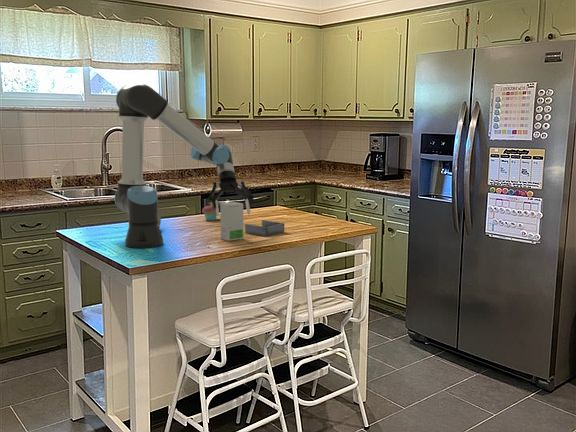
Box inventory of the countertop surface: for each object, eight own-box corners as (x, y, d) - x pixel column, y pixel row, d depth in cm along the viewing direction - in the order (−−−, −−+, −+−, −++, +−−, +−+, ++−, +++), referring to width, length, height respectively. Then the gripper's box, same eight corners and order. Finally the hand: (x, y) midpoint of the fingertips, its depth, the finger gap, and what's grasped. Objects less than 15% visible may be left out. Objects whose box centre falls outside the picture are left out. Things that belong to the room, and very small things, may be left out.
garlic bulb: (154, 231, 259) (153, 210, 257) (138, 230, 261) (137, 209, 259) (165, 227, 267) (164, 206, 266) (149, 226, 270) (148, 205, 268)
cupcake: (222, 220, 287) (221, 196, 285) (206, 221, 283) (206, 197, 280) (214, 217, 294) (213, 194, 292) (199, 219, 290) (198, 195, 287)
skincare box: (228, 241, 240) (227, 205, 237) (219, 238, 245) (218, 203, 242) (244, 238, 245) (244, 203, 242) (235, 236, 250) (234, 201, 247)
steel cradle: (266, 236, 250) (266, 227, 249) (245, 232, 257) (245, 224, 256) (284, 231, 259) (284, 223, 259) (263, 228, 267) (263, 220, 266)
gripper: (252, 179, 264) (260, 216, 253) (198, 180, 257) (204, 219, 246) (254, 168, 258) (263, 207, 247) (199, 170, 251) (205, 209, 240)
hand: (233, 213), depth 246 cm, fingers open, 13 cm apart
